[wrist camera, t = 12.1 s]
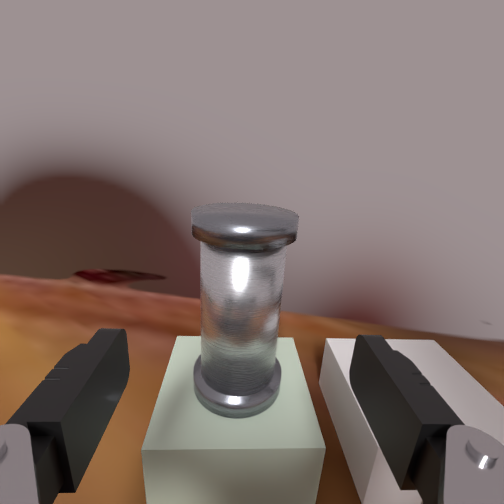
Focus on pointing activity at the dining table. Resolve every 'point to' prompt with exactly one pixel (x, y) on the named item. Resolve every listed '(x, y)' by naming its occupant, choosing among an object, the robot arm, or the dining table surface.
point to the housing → (240, 304)
